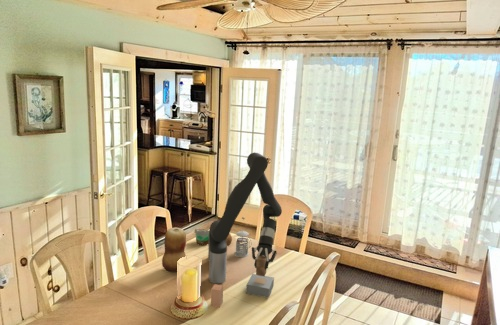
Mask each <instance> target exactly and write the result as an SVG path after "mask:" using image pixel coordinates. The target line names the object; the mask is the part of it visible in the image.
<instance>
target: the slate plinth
mask: <svg viewBox="0 0 500 325" xmlns="http://www.w3.org/2000/svg"><path fill="white" fill-rule="evenodd" d="M274 281H275V277H273V276H267V275H265V276H258V275H256V273H252V274H251V276H250V278H249V279H248V281H247V282H246V286H245V287H246V290H245V294H248V295H252V296H258V297H262V298H270V295H271V293H272V290H273V288H274V284H275V283H274Z"/></svg>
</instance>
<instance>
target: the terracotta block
mask: <svg viewBox="0 0 500 325" xmlns="http://www.w3.org/2000/svg"><path fill="white" fill-rule="evenodd" d="M223 301H224V285H222V284H216V283H213V285H212V287H211V288H210V307H215V308H221V306H222V304H223V303H224V302H223Z"/></svg>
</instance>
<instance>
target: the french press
mask: <svg viewBox="0 0 500 325" xmlns="http://www.w3.org/2000/svg"><path fill="white" fill-rule="evenodd" d="M245 218H246V217H245V216H242V217H241V219H242V220H245ZM235 235H236V236H237V239H236V242H235V252H234V253H233V255H234V256H235V257H237V258H247V257H249V256H250V253H249V252H248V251H249V249H250V248H252V239H251V238H250V237H249V235H250V233H249V232H247V231H246V230H239V231H238V232H236V234H235ZM249 243H250V244H249Z"/></svg>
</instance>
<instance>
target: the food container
mask: <svg viewBox="0 0 500 325" xmlns="http://www.w3.org/2000/svg"><path fill="white" fill-rule="evenodd" d="M193 232H194V233H195V242H196V245H198V244H199V246H208V245H209V230H208V229H197V228H196V227H195V228H194V231H193ZM207 244H208V245H207Z"/></svg>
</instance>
